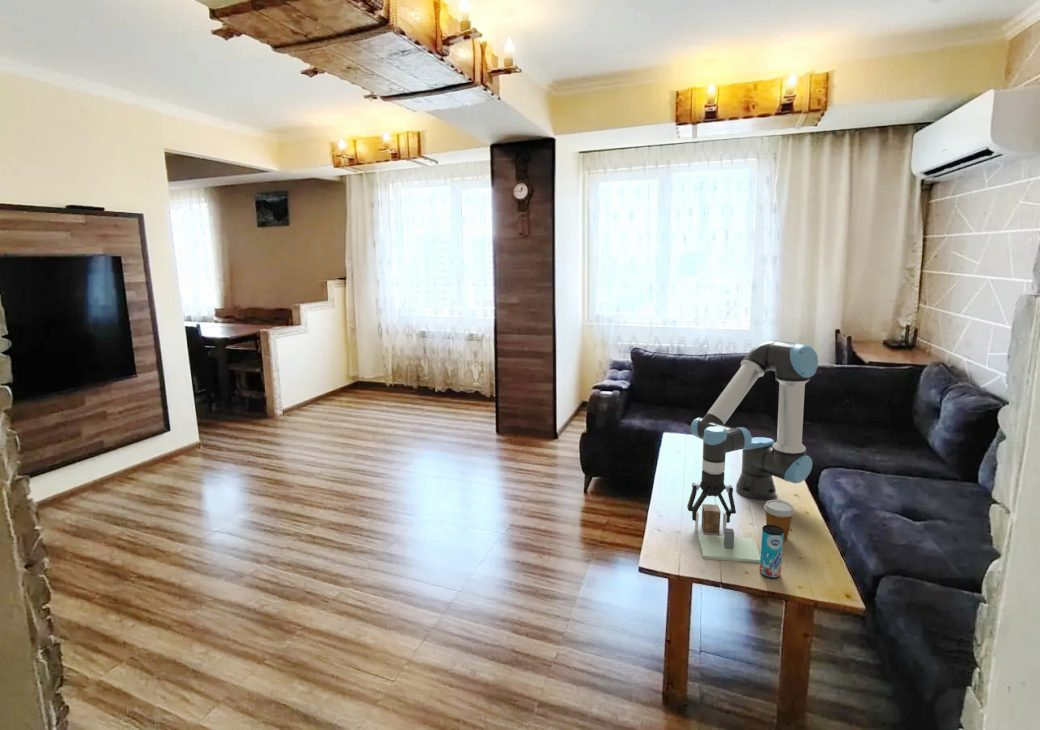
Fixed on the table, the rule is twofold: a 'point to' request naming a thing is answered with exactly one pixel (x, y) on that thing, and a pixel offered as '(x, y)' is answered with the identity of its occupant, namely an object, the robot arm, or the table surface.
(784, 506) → the disposable coffee cup
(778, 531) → the teal and black cylinder
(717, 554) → the post board
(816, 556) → the table surface
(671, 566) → the table surface
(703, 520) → the box
